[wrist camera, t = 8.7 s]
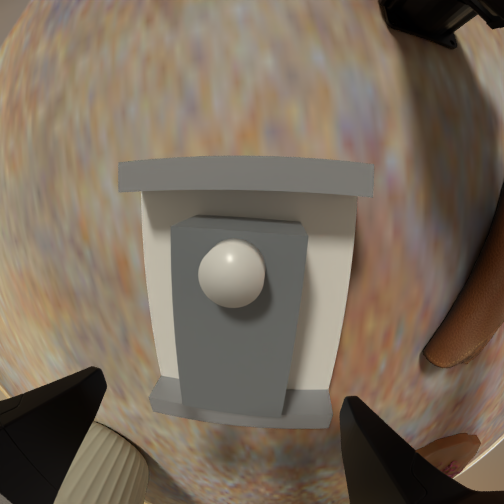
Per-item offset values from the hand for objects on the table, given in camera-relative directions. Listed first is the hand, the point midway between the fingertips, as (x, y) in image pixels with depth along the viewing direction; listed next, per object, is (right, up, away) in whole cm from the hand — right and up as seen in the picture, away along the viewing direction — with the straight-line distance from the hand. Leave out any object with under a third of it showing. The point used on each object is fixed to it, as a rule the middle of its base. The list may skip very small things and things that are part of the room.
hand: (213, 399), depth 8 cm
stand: (+1, +3, +10) cm, 11 cm away
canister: (-18, -21, +19) cm, 34 cm away
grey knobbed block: (+1, +2, +7) cm, 8 cm away
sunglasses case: (+23, +3, +9) cm, 25 cm away
